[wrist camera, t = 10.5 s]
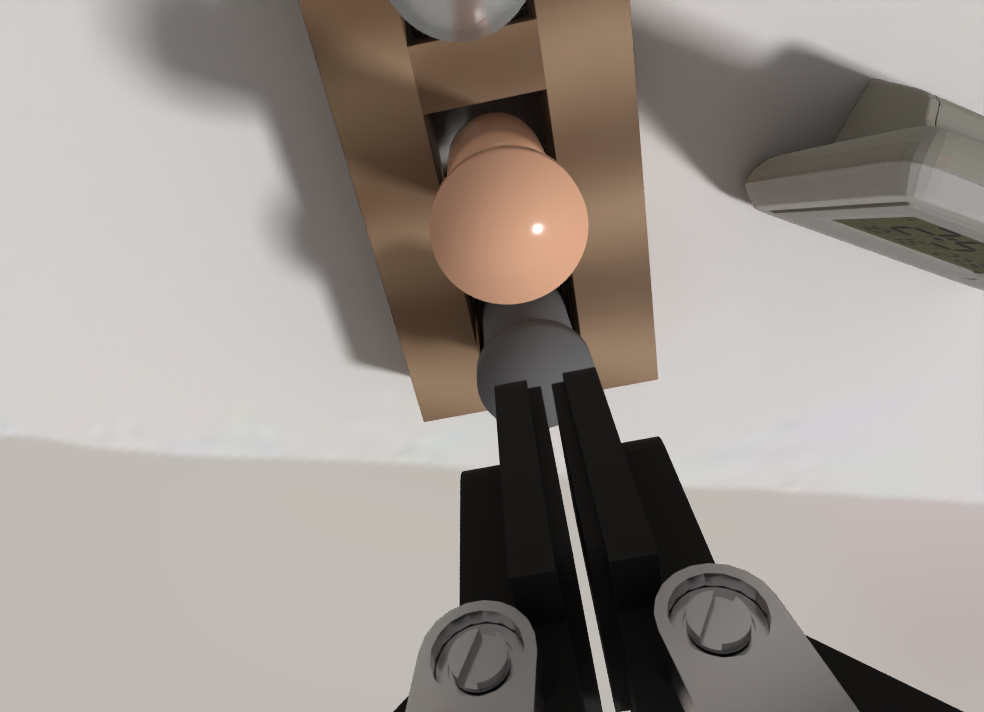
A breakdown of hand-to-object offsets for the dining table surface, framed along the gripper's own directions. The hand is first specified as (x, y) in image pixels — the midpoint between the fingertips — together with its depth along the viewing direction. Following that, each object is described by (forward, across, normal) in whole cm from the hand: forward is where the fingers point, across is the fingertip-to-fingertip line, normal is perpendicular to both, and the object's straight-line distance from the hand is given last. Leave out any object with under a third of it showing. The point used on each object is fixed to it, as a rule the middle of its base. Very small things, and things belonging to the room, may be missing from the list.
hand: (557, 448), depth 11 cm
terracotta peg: (+19, 0, 0) cm, 19 cm away
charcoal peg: (+23, 0, +7) cm, 24 cm away
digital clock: (+23, -19, +6) cm, 31 cm away
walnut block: (+23, 0, 0) cm, 23 cm away
